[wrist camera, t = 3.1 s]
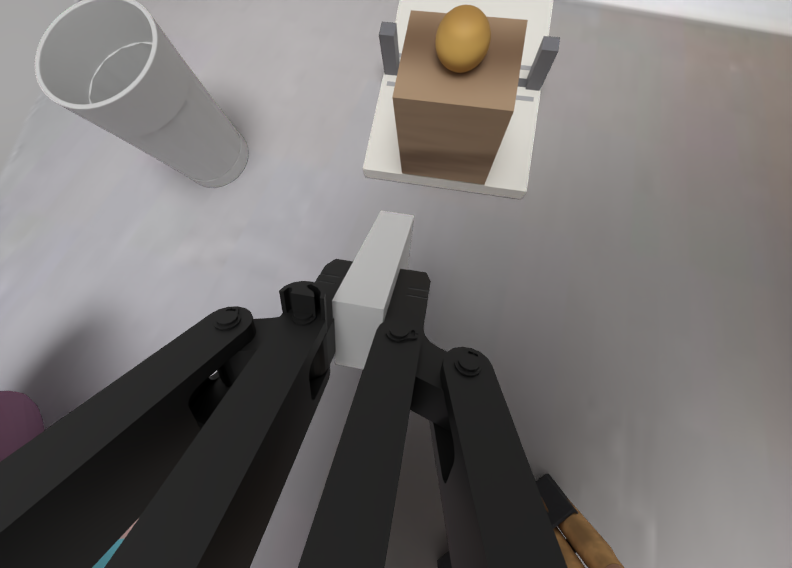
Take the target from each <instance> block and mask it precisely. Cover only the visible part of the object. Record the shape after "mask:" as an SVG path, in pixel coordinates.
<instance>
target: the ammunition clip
mask: <svg viewBox="0 0 792 568" xmlns="http://www.w3.org/2000/svg"><path fill="white" fill-rule="evenodd" d="M536 484H537V487H538V490H539V492H540V495H541V498H542V500H543V503H544V506H545V508H546V511H547V514H548V516H549V519H550V522H551V524H552V527H553V530H554V532H555V535H556V538H557V540H558V543H559V546H560V548H561V551H562V554H563V556H564V559H565V562H566V564H567V567H568V568H585V567H584V565H583V564H582V562H581V561H580V560H579V558H578V557H577V555H576V554H575V553H576V552H577V553H578V555H579V556H580V558H581V559H582V560H583V562H584V563H585V564H586V566H587V567H588V568H624V567H623V565H622V564H621V563H620V562H619V560H618V559H617V557H616V555H615V554H614V552H613V550H612V549H611V547H610V546H609V545H608V543H607V542H606V541H605V540H604V539H603V538H602V537H601V535H600V534H599V533H598V532H597V531H596V530H595V529H594V528H593V526H592V525H591V524H590V523H589V522H588V521H587V520H586V519H585V517H584V516H583V515H582V514H581V513H580V512H579V511H578V509H577V508H576V507H575V506H574V505H573V504H572V503H571V502H570V500H569V499H568V498H567V497H566V495H565V494H564V493H563V492H562V490H561V489H560V488H559V486H558V485H557V484H556V483H555V481H554V480H553V479H552V477H551V476H550V475H549V474H545V475H544V476H542V477H541V478H540V479H539V480H537V481H536ZM557 526H558V527H559V529H560V530H561V531H562V533H563V534H564V536H565V537H566V538H567V539H565V538H564V537H563V535H562V534H561V532H560V531H559V529H558V528H557ZM438 568H452V566H451V559H450V553H449V552H448V553H446V554H445V555H444V556H443V557H441V558H440V559H439V560H438Z"/></svg>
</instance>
